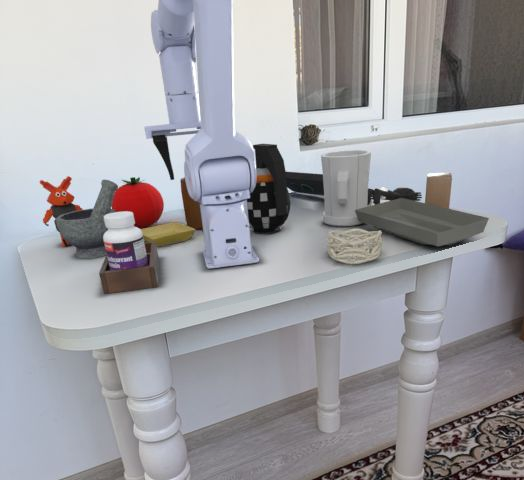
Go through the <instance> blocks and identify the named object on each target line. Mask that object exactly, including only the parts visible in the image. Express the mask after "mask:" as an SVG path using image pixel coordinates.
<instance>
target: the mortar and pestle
mask: <svg viewBox="0 0 524 480" xmlns="http://www.w3.org/2000/svg"><path fill="white" fill-rule="evenodd" d="M100 184H101V187H100V191H99V192H98V195H97V197H96V201H95V203H94V205H93V208H87V209H86V208H85V209H83V210H79V211H73V212H70V213H66V214H62V215H60V216H59V217H57V218H56V222H57V226H58V229H59V231H60V232H59V234H60V233H61V235H62V236H63V238H64V239H65V240H66V241H67V242H68V243H69V244H71V246H73V247H74V248H75V255H76V257H77V258H80V259H95V258H101V257H105V256H106V254H107V253H106V249H105V244H104V240H103V235H104V233H105V232H106V231H108V228H107V227H106V225H105V222H104V216H105V215H107V214H110V213H114V212H115V210H114V209H112V202H113V198H114V194H115V191H116V190H117V189H118V188H119V185H118V184H117V183H115V182H114V181H111V180H110V179H101V182H100Z"/></svg>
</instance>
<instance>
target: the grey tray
mask: <svg viewBox="0 0 524 480" xmlns="http://www.w3.org/2000/svg"><path fill="white" fill-rule="evenodd" d="M355 212H356V215H357V218H358V220H359V222H362V223H363V224H366V225H369V226H372V227H373V228H375V229H377V230H378V231H381V232H385V233H388V234H390V235H393V236H397V237H399V238H402V239H405V240H409V241H411V242H414V243H417V244H420V245H424V246H425V245H426V246H427V245H429V246H435V247H443V246H453V245H455V244H457V243H459V242H462V241H464V240H466V239H469V238H471V237H474V236H477V235H480V234H482V233H484V231H485V229H486V226H487V224H488V221H489V219H490V217H488V216H487V217H486V216H481V215H478V214H473V213H469V212H464V211H460V210H456V209H452V208H449V209H448V208H443V207H439V206H435V205H430V204H426V203H425V202H421V201H413V200H409V199H404V198H399V199H395V200H391V201H390V200H386V201H384V202H380V204H376V205H375V204H372V205H371V206H368V207H364V208H360V209H356V210H355Z"/></svg>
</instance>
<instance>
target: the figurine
mask: <svg viewBox="0 0 524 480" xmlns="http://www.w3.org/2000/svg"><path fill="white" fill-rule="evenodd" d="M399 198H404V199H409V200H413V201H417V202H421V199H422V198H423V197H422V192H419V191H415V190H414V189H413V188H409V187H397V188H395V189H393V190H391V189H388V188H387V187H380V188H374V189H373V188H369V187H368V201H367V205H369V204H370V201H371V199H372V204H373V205H376V204H380V203H381V201H391V200H395V199H399Z"/></svg>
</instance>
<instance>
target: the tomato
mask: <svg viewBox="0 0 524 480" xmlns="http://www.w3.org/2000/svg"><path fill="white" fill-rule="evenodd" d="M121 181H122V183H124V184H123V185H121V186H118V189H117V190H116V191H115V194H114V198H113V202H112V206H111V209H114V210H115V212H123V211H128V212H133V215H134V220H135V224H134V227H137V228H139V229H144V228H149V227H152V226H153V225H155V224H156V223H157V222H158V221H159V220H160V218H161V217H162V215H163V212H164V209H165V203H164V202H165V201H164V198H163V196H162V194H161V192H160V191H159V190H158V189H157V187H155V186H153V185H152V184H150V183H148V182H144V181H145V179H143V180H141V177H139V176H138V177H137V178H136V177H135V176H134V177H133V176H132V177H130V178H129V180H125V179H121Z"/></svg>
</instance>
